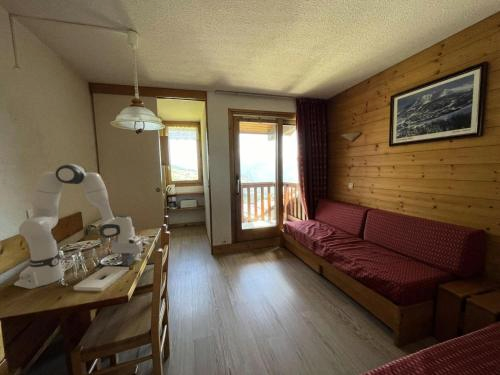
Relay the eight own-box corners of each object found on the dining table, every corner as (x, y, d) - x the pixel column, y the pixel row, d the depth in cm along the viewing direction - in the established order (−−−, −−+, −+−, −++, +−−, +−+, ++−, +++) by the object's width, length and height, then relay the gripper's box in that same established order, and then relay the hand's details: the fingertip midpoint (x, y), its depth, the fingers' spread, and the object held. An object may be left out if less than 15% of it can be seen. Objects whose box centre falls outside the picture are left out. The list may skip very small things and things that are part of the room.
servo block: (120, 267, 137) (119, 256, 136) (130, 260, 147) (129, 249, 146) (126, 267, 137) (125, 256, 136) (135, 260, 147) (134, 249, 146)
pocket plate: (73, 290, 113) (73, 286, 113) (105, 269, 135) (104, 266, 135) (101, 291, 112) (101, 287, 112) (128, 270, 134) (128, 266, 133)
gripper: (107, 240, 138) (109, 260, 139) (137, 241, 136) (139, 261, 138) (114, 237, 144) (116, 256, 146) (143, 237, 142) (144, 257, 144)
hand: (127, 259), depth 142 cm, fingers open, 8 cm apart
